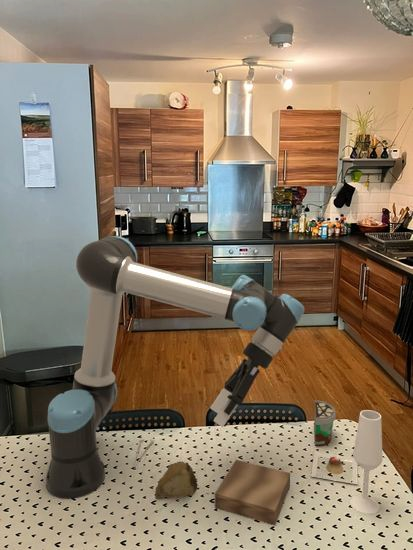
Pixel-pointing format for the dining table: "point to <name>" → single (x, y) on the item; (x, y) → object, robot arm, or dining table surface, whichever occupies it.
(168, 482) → the rock
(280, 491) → the plinth
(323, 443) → the food container
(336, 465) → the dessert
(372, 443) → the champagne flute
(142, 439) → the tweezers
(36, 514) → the dining table surface
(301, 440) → the dining table surface
